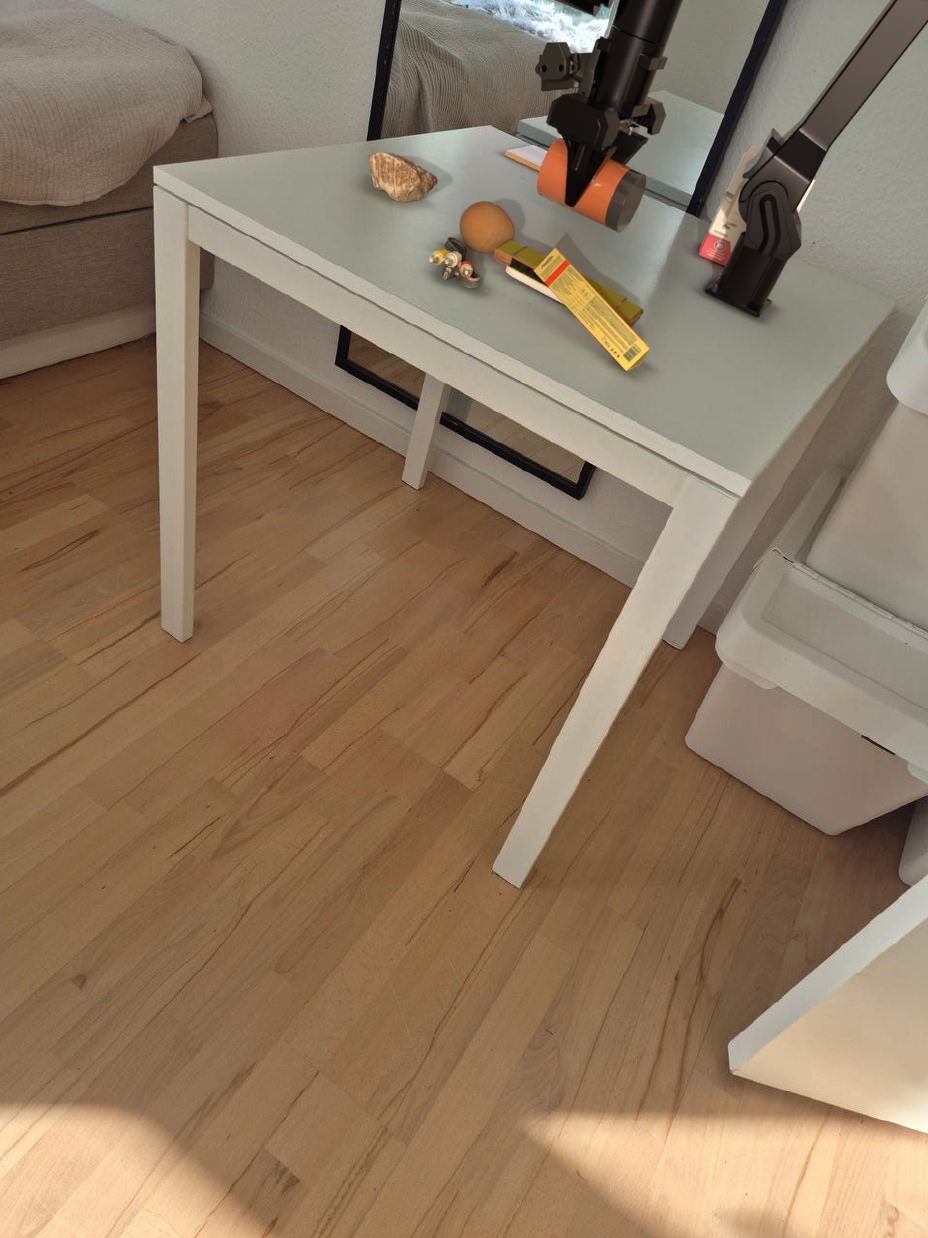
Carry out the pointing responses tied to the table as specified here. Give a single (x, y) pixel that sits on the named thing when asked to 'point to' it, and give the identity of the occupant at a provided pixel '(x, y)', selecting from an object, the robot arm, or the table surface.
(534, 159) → the coaster
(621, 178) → the jar
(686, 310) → the table surface
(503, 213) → the egg
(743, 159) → the ink box
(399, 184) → the stone
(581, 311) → the chocolate bar
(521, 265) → the olive brown bar
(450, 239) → the composite cable
